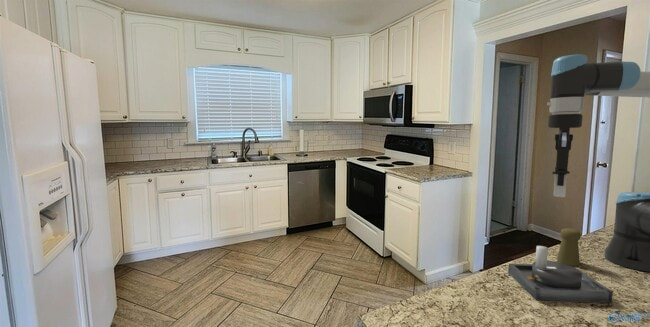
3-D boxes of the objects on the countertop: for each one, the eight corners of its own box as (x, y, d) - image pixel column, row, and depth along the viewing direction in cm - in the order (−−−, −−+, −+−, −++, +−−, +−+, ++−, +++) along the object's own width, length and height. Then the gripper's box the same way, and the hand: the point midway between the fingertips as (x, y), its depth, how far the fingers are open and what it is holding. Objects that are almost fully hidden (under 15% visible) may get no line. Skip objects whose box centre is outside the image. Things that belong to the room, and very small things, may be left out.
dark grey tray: (571, 274, 93) (572, 265, 93) (611, 303, 79) (612, 291, 78) (508, 272, 95) (508, 263, 95) (536, 300, 80) (536, 289, 80)
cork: (584, 266, 99) (587, 233, 97) (562, 265, 100) (565, 232, 99) (573, 258, 105) (575, 226, 103) (553, 257, 106) (555, 226, 104)
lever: (565, 271, 91) (567, 241, 90) (591, 290, 80) (594, 257, 79) (524, 269, 93) (526, 240, 92) (544, 288, 82) (547, 255, 81)
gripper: (549, 114, 94) (543, 190, 97) (548, 113, 84) (542, 199, 87) (581, 113, 90) (574, 193, 93) (584, 112, 79) (577, 202, 82)
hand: (559, 196), depth 90 cm, fingers closed
